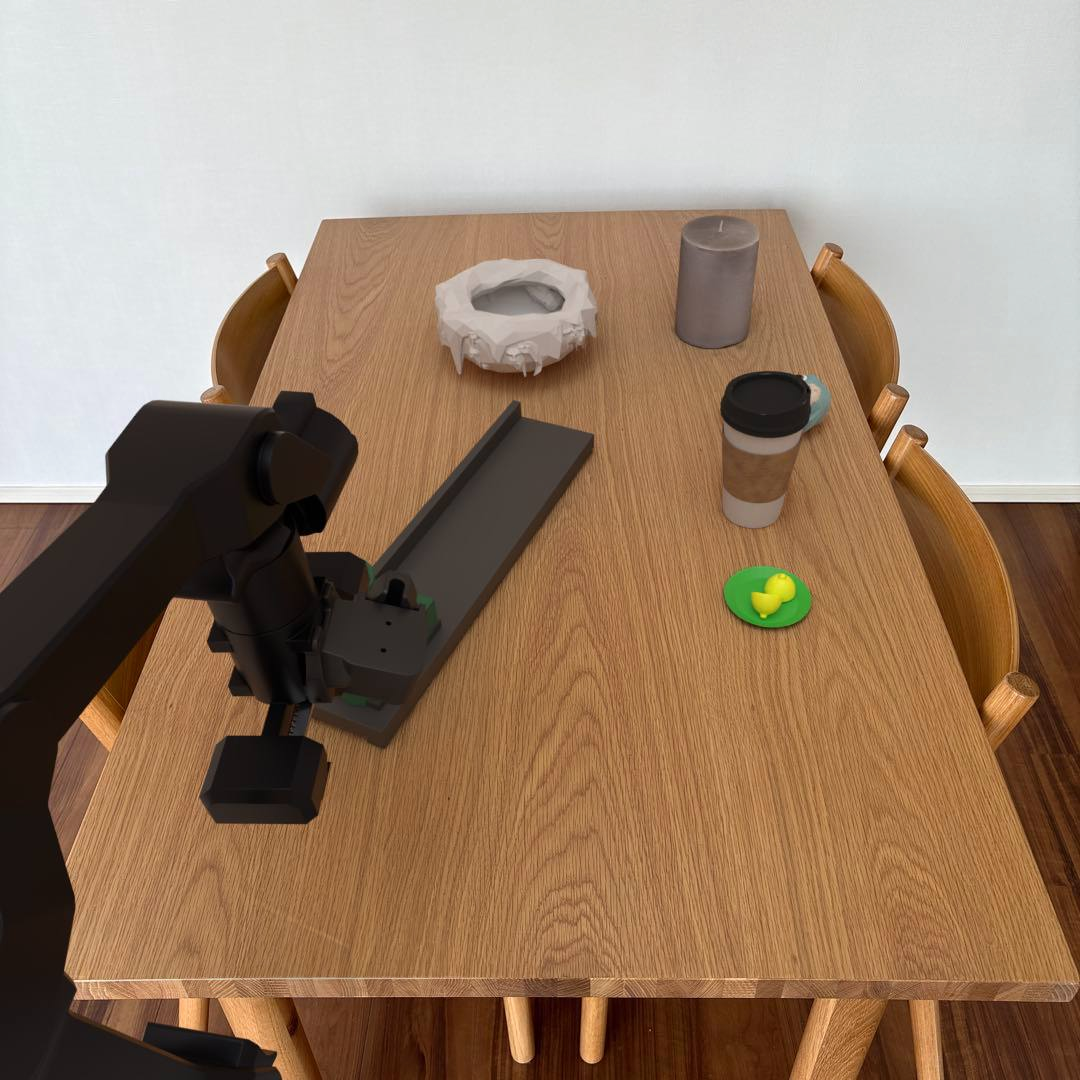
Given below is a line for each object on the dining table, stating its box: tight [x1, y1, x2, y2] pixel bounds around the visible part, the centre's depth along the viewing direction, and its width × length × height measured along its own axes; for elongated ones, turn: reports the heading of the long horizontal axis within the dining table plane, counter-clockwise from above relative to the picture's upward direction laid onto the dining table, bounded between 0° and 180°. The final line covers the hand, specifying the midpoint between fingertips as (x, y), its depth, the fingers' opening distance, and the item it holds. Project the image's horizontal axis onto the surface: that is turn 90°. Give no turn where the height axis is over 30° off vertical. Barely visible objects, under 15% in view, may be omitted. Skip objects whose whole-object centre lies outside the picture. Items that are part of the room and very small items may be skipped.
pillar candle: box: [674, 214, 761, 350], centre depth 121 cm, size 10×10×15 cm
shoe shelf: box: [295, 399, 595, 750], centre depth 94 cm, size 44×10×4 cm, turn 155°
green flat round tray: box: [723, 565, 812, 628], centre depth 89 cm, size 8×8×3 cm
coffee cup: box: [719, 370, 811, 529], centre depth 95 cm, size 8×8×15 cm
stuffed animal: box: [785, 371, 832, 434], centre depth 109 cm, size 11×7×12 cm
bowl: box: [433, 257, 599, 378], centre depth 120 cm, size 21×20×10 cm
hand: (323, 750), depth 64 cm, fingers open, 9 cm apart
